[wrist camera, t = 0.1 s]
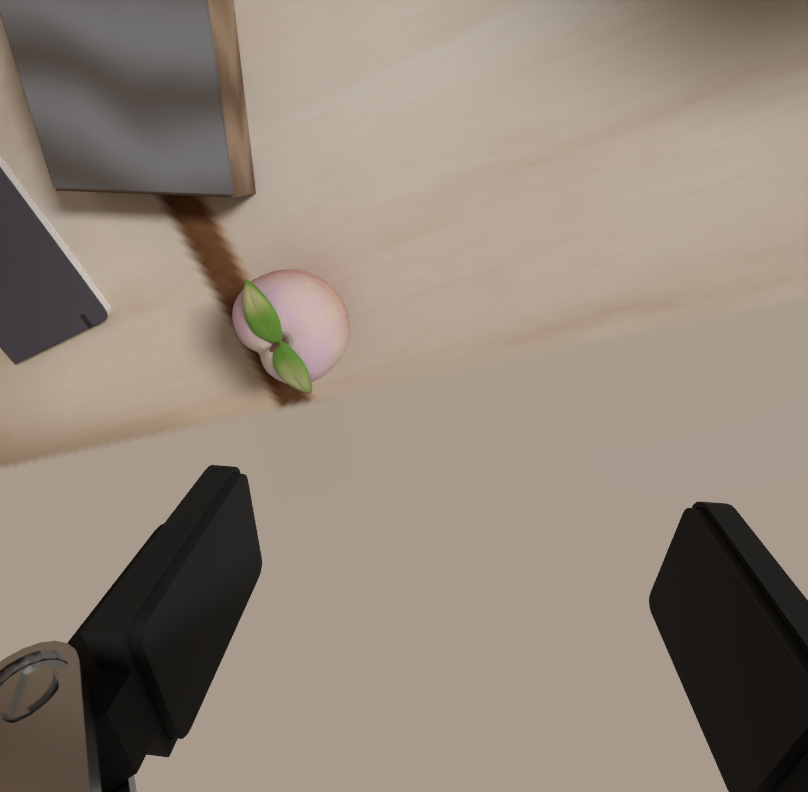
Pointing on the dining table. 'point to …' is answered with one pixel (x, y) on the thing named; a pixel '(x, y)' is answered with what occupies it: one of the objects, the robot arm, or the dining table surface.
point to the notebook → (39, 279)
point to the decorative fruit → (292, 325)
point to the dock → (135, 94)
